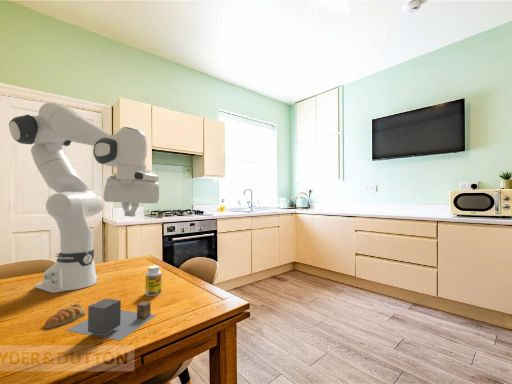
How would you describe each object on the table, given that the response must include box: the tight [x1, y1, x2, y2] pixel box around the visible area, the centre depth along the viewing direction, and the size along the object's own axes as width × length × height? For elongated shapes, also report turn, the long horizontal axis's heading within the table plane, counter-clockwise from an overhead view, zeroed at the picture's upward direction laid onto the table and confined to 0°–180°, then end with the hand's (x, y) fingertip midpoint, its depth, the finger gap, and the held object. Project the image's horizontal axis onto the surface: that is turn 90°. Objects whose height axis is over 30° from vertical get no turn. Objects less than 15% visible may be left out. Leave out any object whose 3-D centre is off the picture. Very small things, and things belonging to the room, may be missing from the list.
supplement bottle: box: [144, 265, 163, 297], centre depth 93 cm, size 6×6×10 cm
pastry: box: [44, 303, 86, 329], centre depth 73 cm, size 9×7×4 cm
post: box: [136, 300, 152, 319], centre depth 74 cm, size 3×3×4 cm
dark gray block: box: [87, 298, 122, 335], centre depth 66 cm, size 5×5×7 cm
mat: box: [65, 309, 157, 341], centre depth 71 cm, size 18×14×1 cm
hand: (129, 216), depth 84 cm, fingers closed
